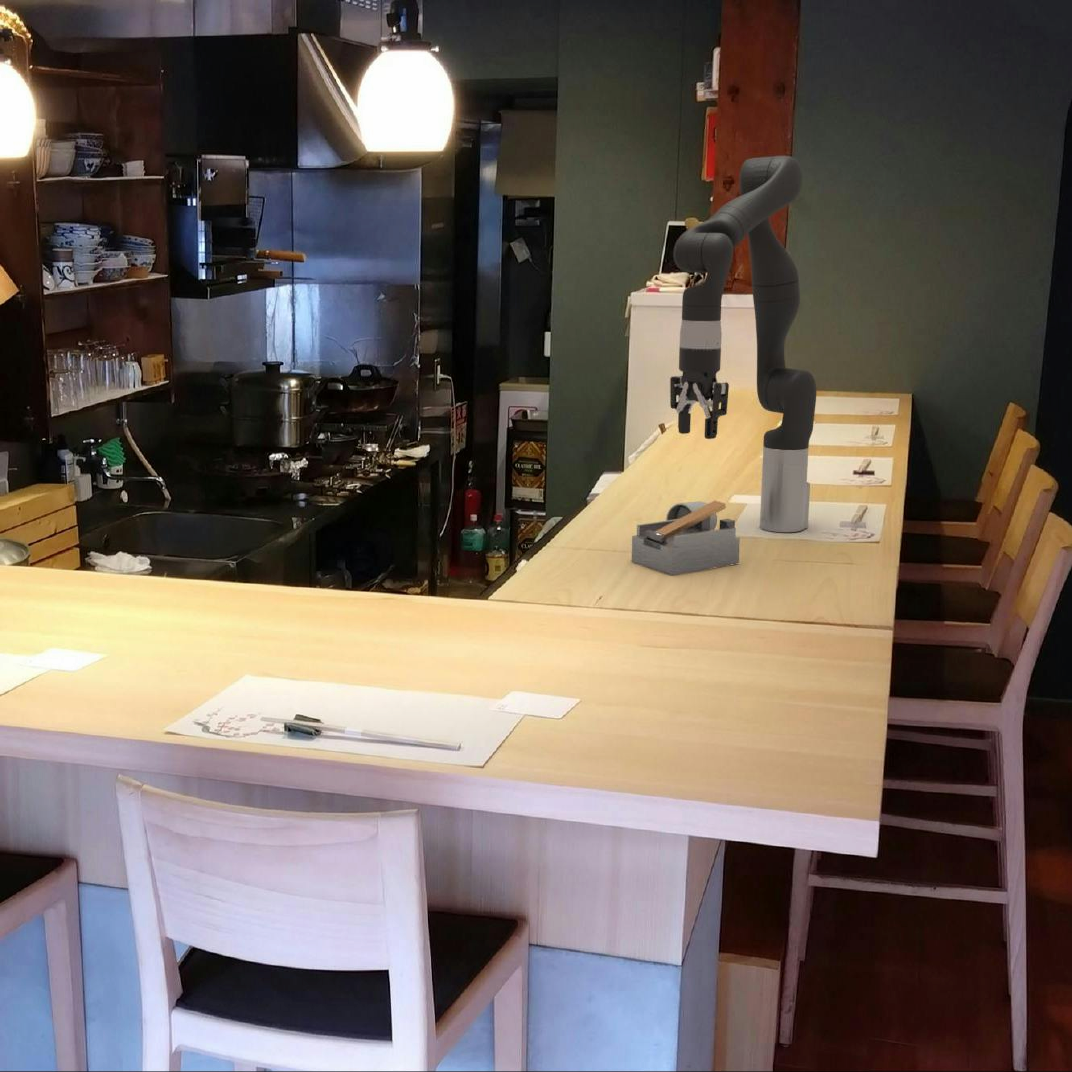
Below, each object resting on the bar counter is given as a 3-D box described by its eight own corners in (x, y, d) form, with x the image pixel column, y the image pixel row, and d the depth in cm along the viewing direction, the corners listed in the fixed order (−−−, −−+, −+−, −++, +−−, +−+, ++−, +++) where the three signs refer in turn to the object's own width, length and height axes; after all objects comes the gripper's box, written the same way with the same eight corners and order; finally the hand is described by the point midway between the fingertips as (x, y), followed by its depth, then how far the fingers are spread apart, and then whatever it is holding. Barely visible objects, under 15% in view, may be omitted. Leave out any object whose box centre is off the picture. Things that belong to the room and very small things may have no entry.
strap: (713, 504, 256) (711, 497, 256) (728, 508, 253) (726, 501, 252) (645, 539, 249) (643, 532, 248) (660, 544, 245) (658, 536, 245)
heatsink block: (697, 550, 262) (698, 510, 260) (738, 563, 252) (740, 522, 250) (631, 561, 253) (632, 520, 251) (671, 575, 243) (673, 532, 241)
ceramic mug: (719, 537, 273) (720, 500, 271) (694, 544, 267) (695, 506, 266) (678, 530, 280) (678, 494, 279) (653, 536, 274) (653, 499, 273)
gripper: (742, 347, 241) (738, 439, 244) (690, 341, 252) (687, 429, 256) (710, 349, 237) (706, 442, 240) (659, 343, 248) (656, 432, 252)
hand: (697, 435), depth 248 cm, fingers open, 7 cm apart
